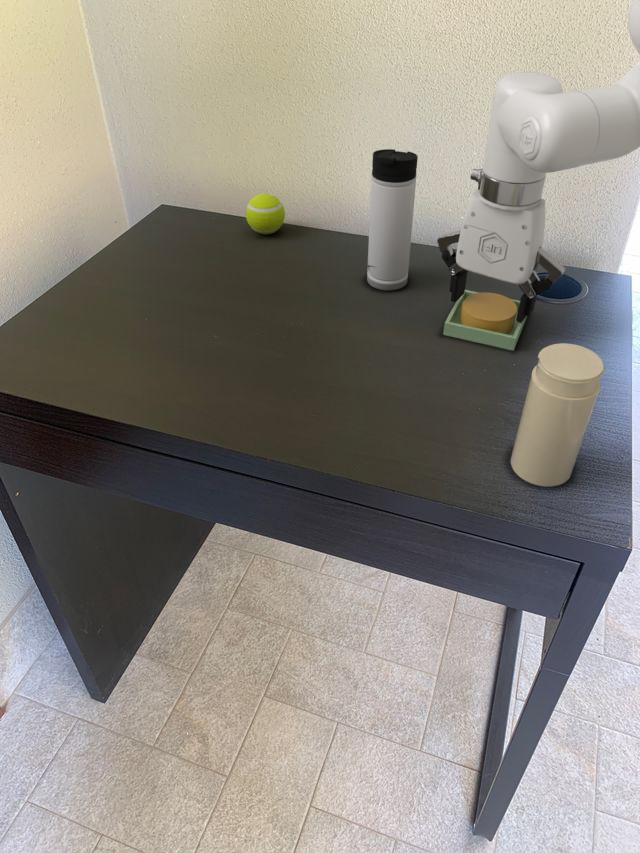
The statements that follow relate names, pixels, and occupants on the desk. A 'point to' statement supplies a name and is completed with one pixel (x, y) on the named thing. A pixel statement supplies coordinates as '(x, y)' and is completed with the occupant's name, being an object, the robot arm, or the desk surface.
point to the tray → (480, 335)
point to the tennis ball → (265, 213)
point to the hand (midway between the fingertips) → (489, 307)
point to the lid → (489, 312)
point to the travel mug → (391, 218)
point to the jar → (556, 413)
